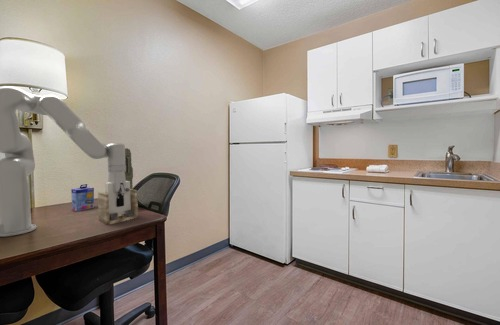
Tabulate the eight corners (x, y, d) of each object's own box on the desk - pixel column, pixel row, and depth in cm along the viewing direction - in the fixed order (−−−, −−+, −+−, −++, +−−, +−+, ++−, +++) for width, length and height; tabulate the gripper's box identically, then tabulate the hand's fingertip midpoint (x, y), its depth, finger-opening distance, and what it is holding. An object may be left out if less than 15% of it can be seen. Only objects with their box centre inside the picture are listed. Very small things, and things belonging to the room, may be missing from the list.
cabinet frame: (106, 225, 109) (105, 194, 108) (99, 220, 115) (97, 192, 114) (138, 217, 120) (137, 190, 119) (129, 214, 126) (128, 188, 125)
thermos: (126, 204, 149) (124, 148, 146) (139, 206, 143) (137, 148, 141) (112, 207, 141) (110, 148, 138) (125, 209, 135) (123, 148, 133)
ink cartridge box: (77, 211, 132) (75, 185, 131) (71, 210, 134) (70, 185, 133) (95, 207, 141) (94, 183, 140) (89, 206, 143) (88, 182, 142)
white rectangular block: (110, 217, 111) (108, 183, 110) (106, 215, 115) (104, 182, 114) (131, 213, 119) (130, 181, 118) (127, 211, 122) (126, 180, 121)
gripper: (102, 168, 118) (103, 204, 120) (115, 170, 108) (117, 209, 109) (118, 167, 124) (119, 201, 125) (132, 169, 113) (133, 206, 115)
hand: (118, 205), depth 117 cm, fingers closed on white rectangular block, 4 cm apart
